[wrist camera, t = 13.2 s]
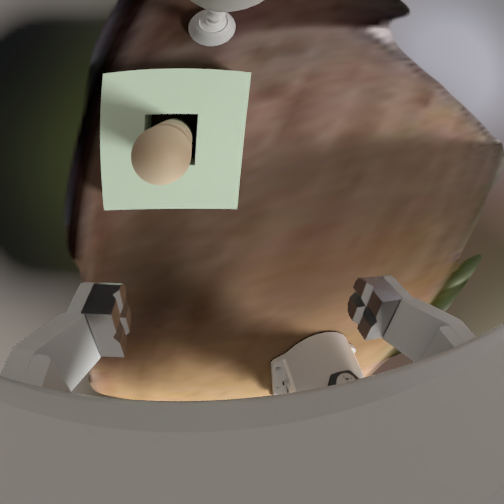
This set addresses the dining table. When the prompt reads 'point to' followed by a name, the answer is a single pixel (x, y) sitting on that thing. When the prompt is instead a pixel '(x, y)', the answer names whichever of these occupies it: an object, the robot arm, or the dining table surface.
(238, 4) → the chalice
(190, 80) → the socket block
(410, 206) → the dining table surface
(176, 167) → the peg
